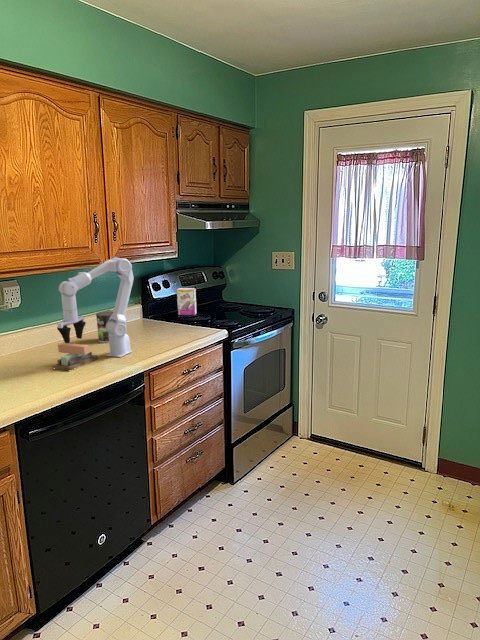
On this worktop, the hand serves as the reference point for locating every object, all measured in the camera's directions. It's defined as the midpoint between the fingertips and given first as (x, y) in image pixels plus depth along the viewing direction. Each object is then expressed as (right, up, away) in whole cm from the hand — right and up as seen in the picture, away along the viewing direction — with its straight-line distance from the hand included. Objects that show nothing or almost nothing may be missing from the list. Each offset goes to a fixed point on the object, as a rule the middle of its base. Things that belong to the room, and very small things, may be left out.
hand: (73, 340), depth 208 cm
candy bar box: (+39, +12, +94) cm, 103 cm away
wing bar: (0, -5, +1) cm, 5 cm away
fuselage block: (0, -9, +2) cm, 9 cm away
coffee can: (+5, -2, +39) cm, 40 cm away
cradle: (0, -10, +2) cm, 10 cm away
